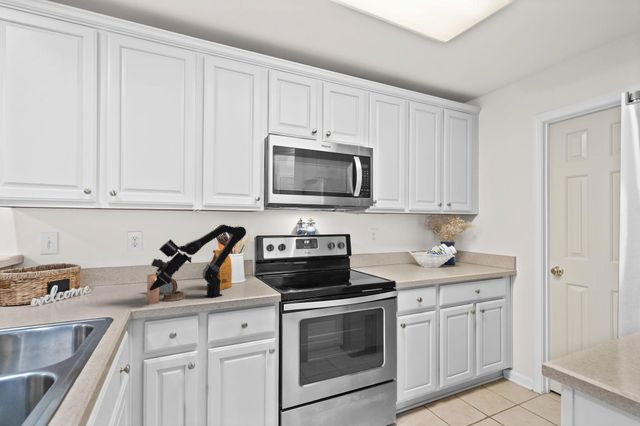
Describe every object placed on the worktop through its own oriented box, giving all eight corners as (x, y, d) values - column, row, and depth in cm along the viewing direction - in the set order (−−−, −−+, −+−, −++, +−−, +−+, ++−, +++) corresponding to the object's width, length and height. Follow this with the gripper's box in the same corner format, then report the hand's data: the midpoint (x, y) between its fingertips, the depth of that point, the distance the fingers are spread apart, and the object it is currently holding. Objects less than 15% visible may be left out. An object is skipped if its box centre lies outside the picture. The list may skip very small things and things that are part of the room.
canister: (161, 302, 156) (161, 274, 156) (150, 304, 152) (150, 276, 152) (155, 301, 159) (155, 273, 159) (145, 303, 154) (145, 275, 155)
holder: (187, 298, 163) (187, 292, 163) (169, 302, 156) (169, 295, 156) (176, 296, 168) (176, 290, 169) (159, 299, 161) (159, 293, 161)
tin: (177, 293, 174) (177, 277, 174) (173, 295, 171) (173, 278, 171) (154, 292, 178) (154, 276, 178) (149, 293, 175) (149, 277, 175)
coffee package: (205, 289, 183) (205, 249, 184) (220, 285, 195) (220, 248, 195) (219, 291, 179) (219, 250, 180) (234, 286, 190) (234, 248, 191)
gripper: (161, 250, 166) (136, 274, 160) (163, 254, 149) (135, 281, 144) (178, 265, 169) (154, 289, 164) (182, 270, 153) (155, 297, 147)
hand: (149, 289), depth 155 cm, fingers closed on canister, 5 cm apart
